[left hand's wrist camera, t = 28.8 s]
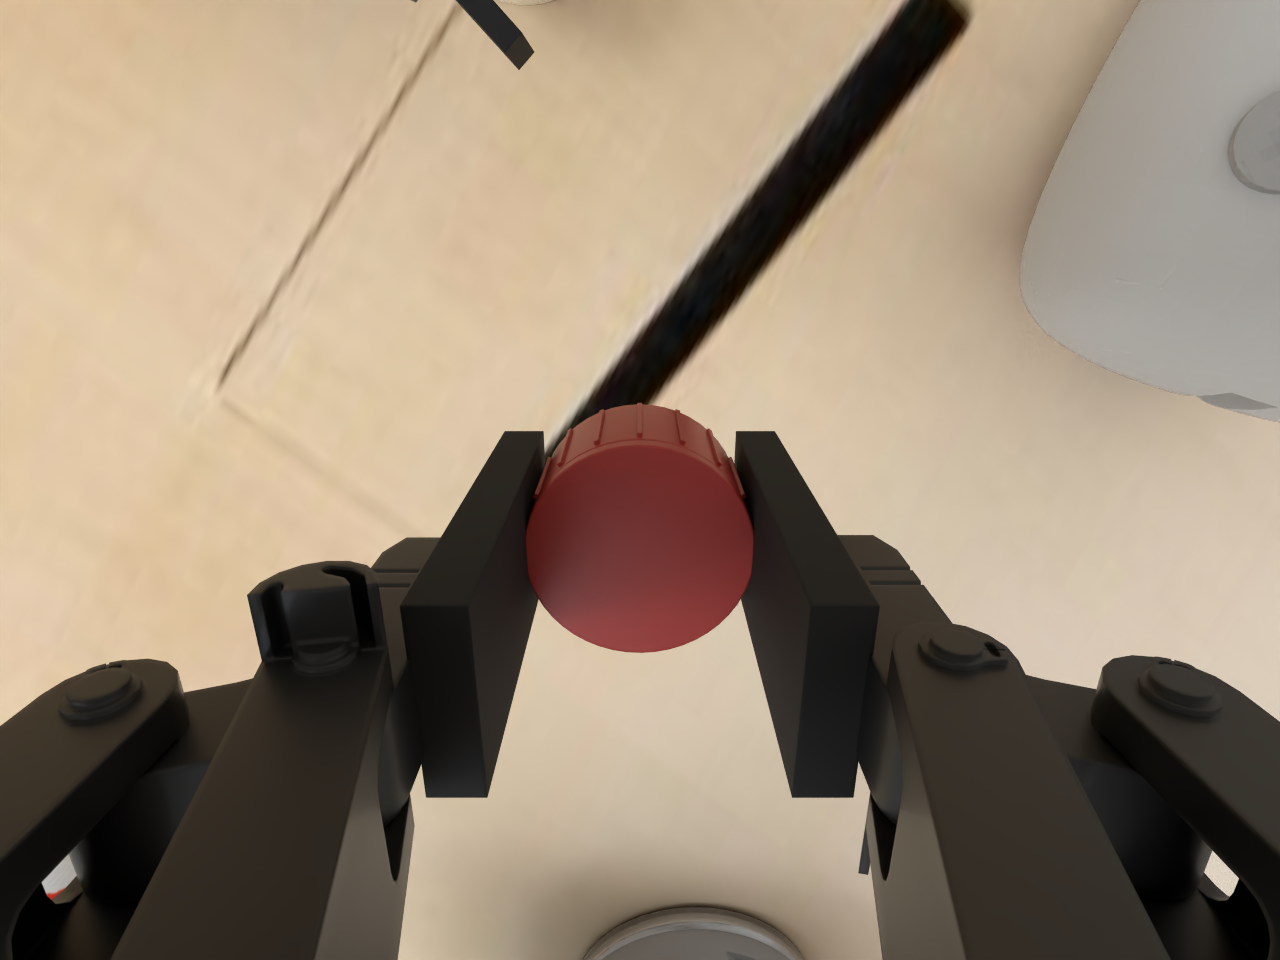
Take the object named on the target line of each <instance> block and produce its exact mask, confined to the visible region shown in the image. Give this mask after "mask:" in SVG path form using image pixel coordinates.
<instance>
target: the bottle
mask: <svg viewBox="0 0 1280 960" xmlns="http://www.w3.org/2000/svg"><path fill="white" fill-rule="evenodd" d="M500 1H503V2H507V3H512V4H517V5H535V4H543V3H547V2H550V1H554V0H500Z"/></svg>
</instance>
